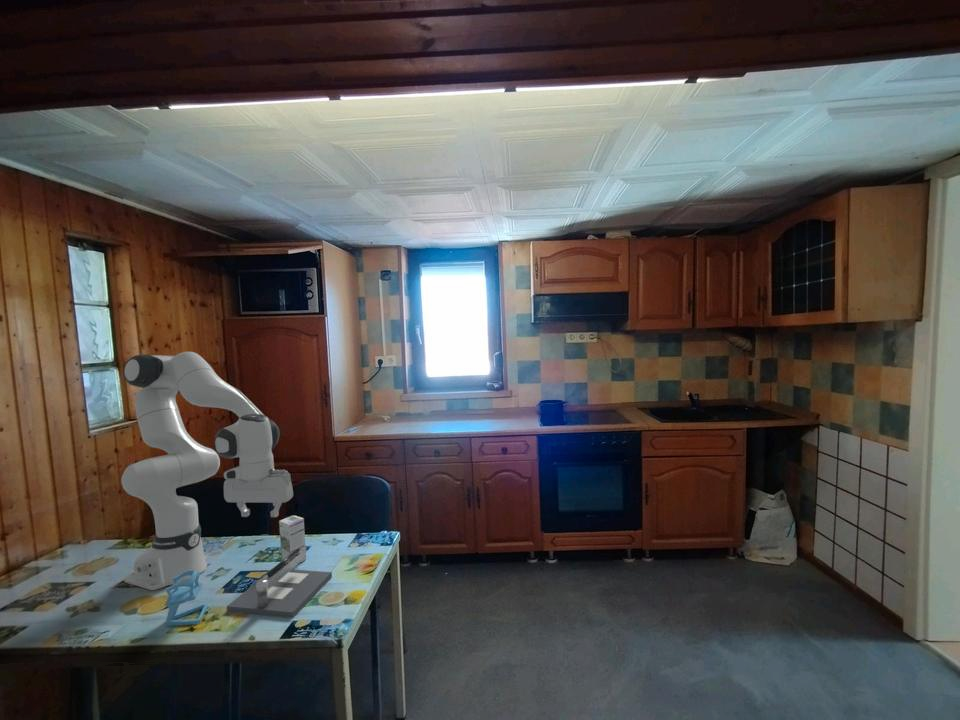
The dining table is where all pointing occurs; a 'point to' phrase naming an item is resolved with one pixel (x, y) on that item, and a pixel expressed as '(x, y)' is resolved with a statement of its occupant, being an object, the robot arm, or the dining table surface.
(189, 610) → the chair
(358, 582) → the dining table surface
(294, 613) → the grey base plate
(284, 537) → the syrup box
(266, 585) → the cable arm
